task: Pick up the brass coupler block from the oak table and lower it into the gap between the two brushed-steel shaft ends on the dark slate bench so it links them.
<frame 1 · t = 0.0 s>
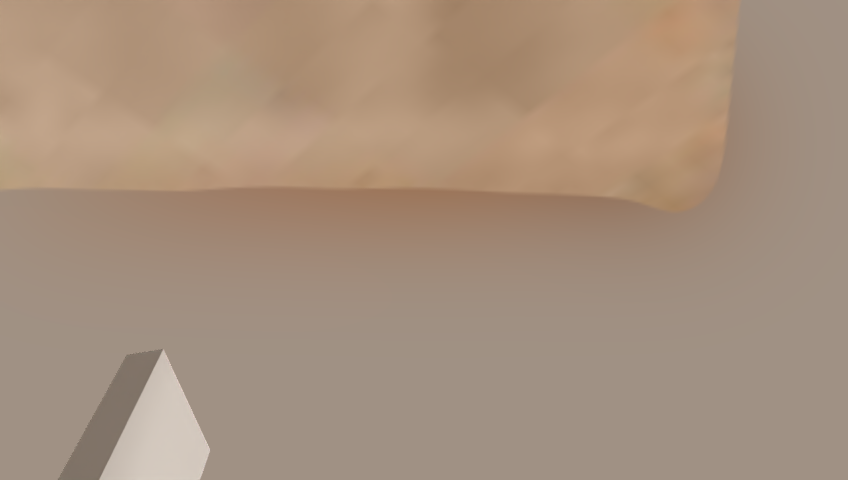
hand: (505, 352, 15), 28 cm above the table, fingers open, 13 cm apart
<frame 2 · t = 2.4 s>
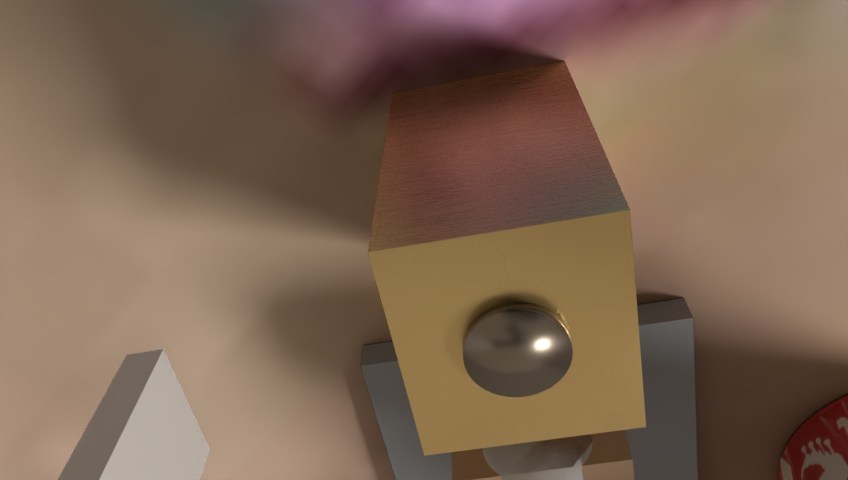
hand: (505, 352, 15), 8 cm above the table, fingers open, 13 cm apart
shaft bench: (544, 468, 27), on the table
coupler: (492, 163, 21), on the table
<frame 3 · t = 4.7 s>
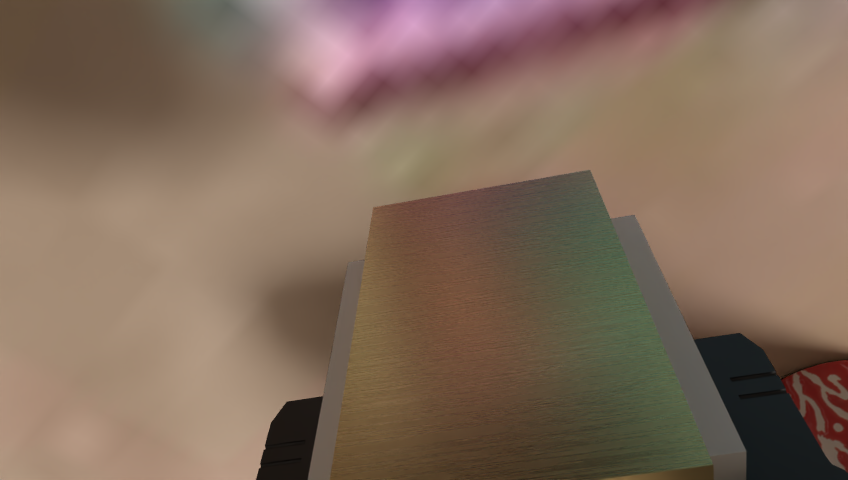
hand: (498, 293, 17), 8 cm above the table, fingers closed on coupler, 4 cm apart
coupler: (498, 289, 17), point 8 cm above the table, touching gripper
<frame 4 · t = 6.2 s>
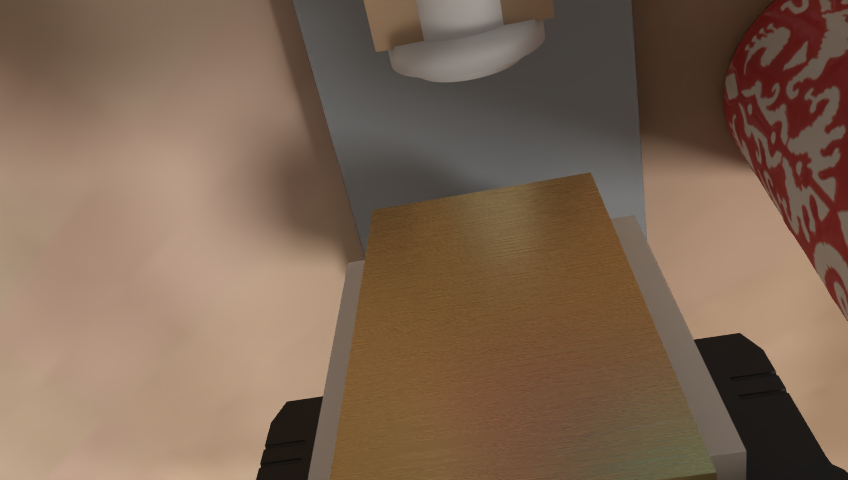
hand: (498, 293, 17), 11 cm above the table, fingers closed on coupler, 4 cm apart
shaft bench: (478, 98, 26), on the table
coupler: (498, 292, 17), point 11 cm above the table, touching gripper
when the fingers open (2 cm above the table, at t = 8.0 s): coupler stays where it is, resting on shaft bench.
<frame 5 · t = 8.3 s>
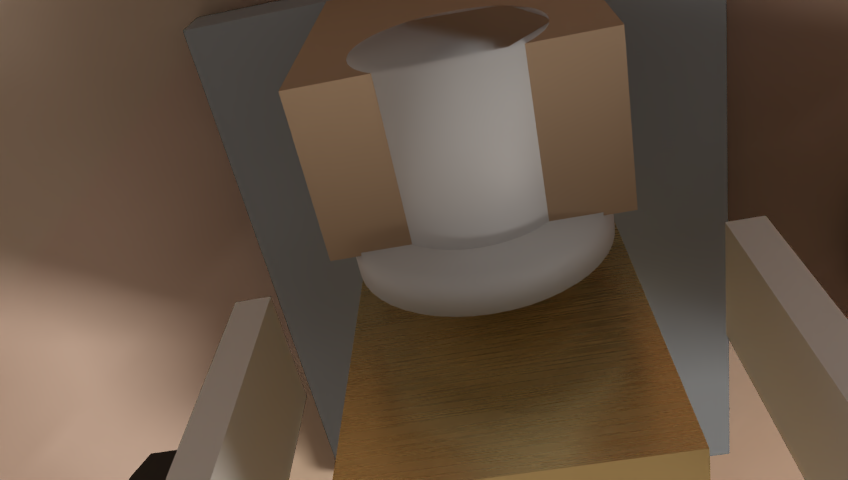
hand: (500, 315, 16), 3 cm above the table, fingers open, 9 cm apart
shaft bench: (494, 251, 18), on the table
coupler: (499, 279, 17), point 1 cm above the table, touching shaft bench
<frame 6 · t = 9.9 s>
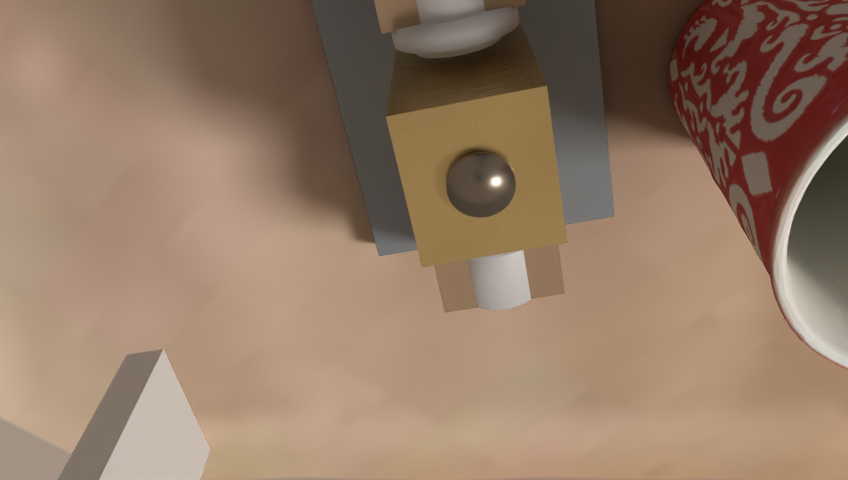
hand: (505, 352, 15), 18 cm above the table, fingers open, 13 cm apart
mug: (803, 64, 30), on the table
shaft bench: (467, 81, 30), on the table
coupler: (469, 93, 29), point 1 cm above the table, touching shaft bench
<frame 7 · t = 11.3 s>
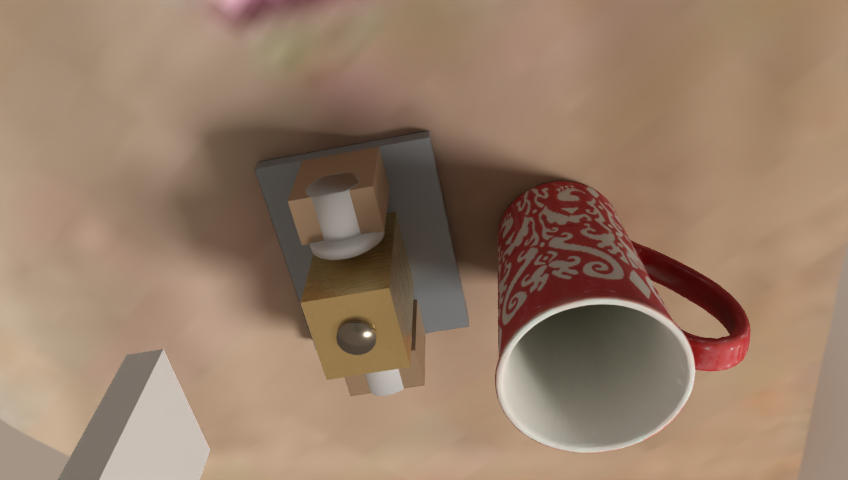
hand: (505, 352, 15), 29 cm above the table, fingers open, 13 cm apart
mug: (584, 234, 47), on the table
shaft bench: (369, 243, 47), on the table
coupler: (368, 254, 46), point 1 cm above the table, touching shaft bench
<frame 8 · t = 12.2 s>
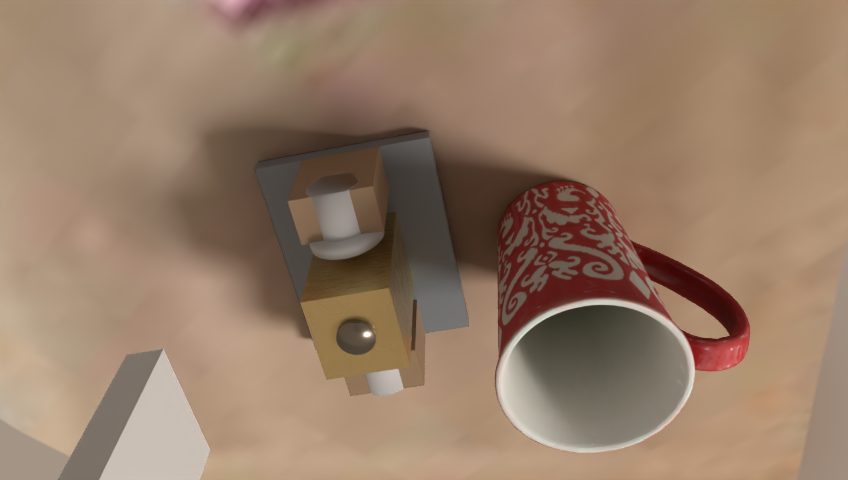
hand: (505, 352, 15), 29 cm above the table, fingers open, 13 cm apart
mug: (584, 234, 47), on the table
shaft bench: (368, 243, 47), on the table
coupler: (368, 254, 46), point 1 cm above the table, touching shaft bench
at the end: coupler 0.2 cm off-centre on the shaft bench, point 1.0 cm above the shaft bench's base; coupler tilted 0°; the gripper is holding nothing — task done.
